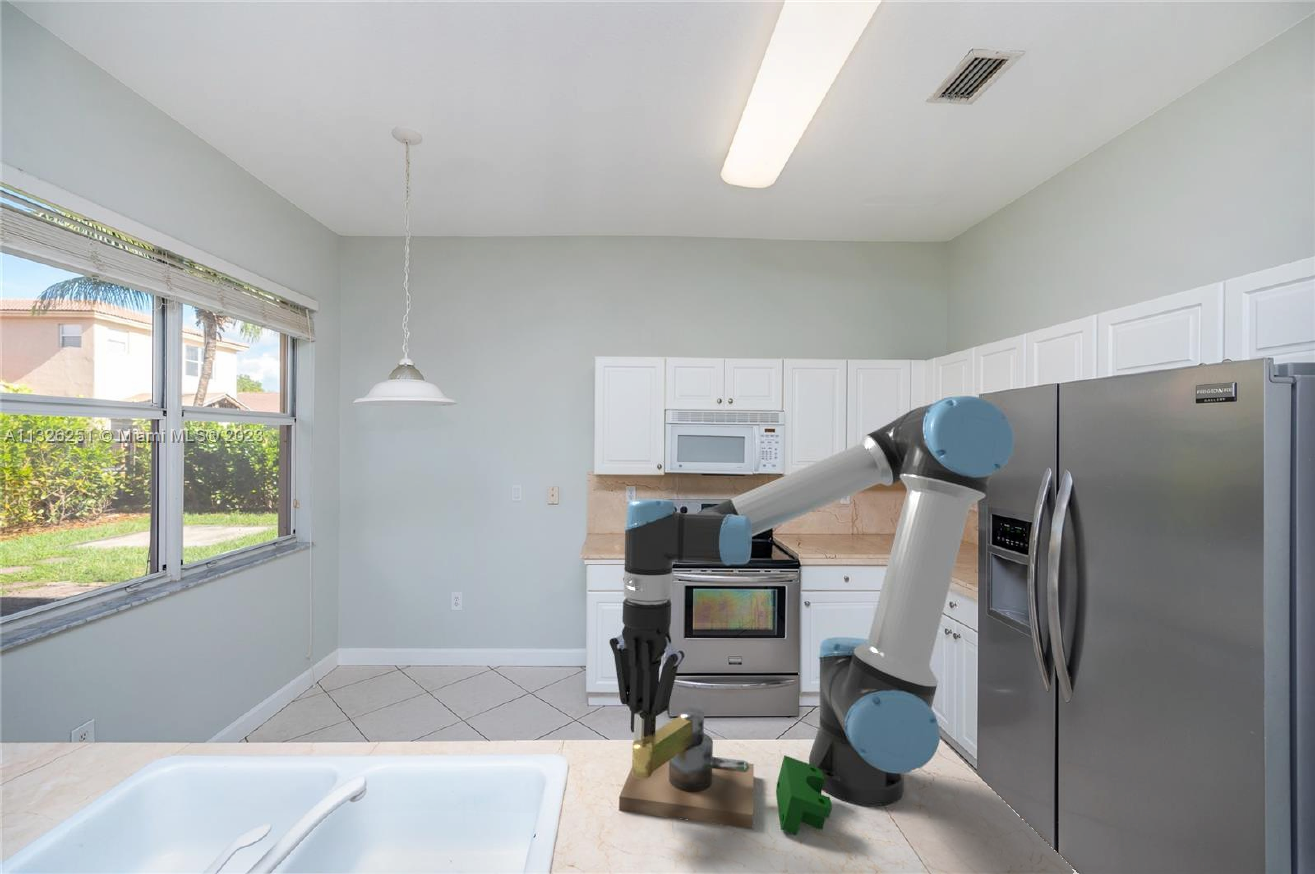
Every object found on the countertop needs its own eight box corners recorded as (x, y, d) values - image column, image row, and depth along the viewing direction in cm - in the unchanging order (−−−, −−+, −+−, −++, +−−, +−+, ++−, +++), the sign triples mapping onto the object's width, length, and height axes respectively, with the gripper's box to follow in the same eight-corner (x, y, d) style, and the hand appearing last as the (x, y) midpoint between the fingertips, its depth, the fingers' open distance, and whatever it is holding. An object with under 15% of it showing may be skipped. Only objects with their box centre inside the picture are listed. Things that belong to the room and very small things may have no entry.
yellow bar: (687, 730, 89) (688, 705, 90) (708, 737, 87) (708, 712, 87) (624, 773, 76) (625, 743, 76) (647, 783, 74) (647, 753, 74)
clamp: (815, 864, 77) (834, 823, 73) (774, 849, 78) (791, 807, 74) (812, 788, 88) (829, 749, 84) (776, 775, 89) (791, 736, 85)
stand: (753, 776, 91) (753, 764, 91) (752, 829, 77) (753, 814, 77) (638, 761, 95) (639, 750, 95) (618, 810, 81) (619, 796, 81)
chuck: (749, 774, 88) (749, 737, 88) (748, 800, 81) (749, 758, 81) (672, 765, 90) (673, 728, 91) (665, 788, 83) (666, 748, 84)
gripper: (599, 596, 84) (593, 752, 82) (668, 611, 76) (662, 783, 75) (629, 588, 90) (624, 733, 88) (695, 601, 82) (691, 760, 81)
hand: (642, 756), depth 81 cm, fingers closed
